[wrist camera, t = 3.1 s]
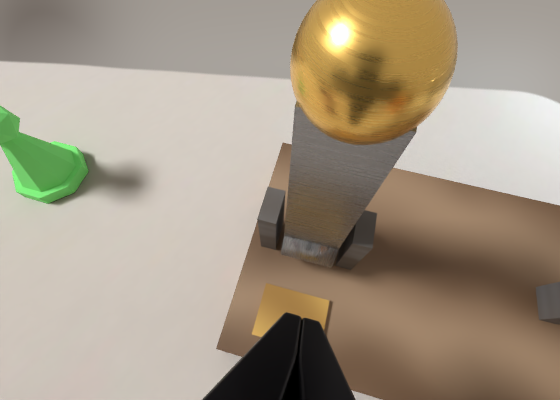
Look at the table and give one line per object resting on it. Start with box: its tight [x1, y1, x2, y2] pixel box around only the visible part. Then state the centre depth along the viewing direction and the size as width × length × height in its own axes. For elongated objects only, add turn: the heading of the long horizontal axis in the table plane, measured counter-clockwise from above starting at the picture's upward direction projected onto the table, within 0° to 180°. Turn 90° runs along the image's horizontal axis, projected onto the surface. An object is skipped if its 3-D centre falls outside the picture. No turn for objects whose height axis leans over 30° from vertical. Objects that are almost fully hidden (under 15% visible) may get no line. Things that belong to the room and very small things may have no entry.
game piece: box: [0, 106, 89, 203], centre depth 17 cm, size 4×4×6 cm
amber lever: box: [281, 0, 458, 268], centre depth 10 cm, size 3×3×12 cm
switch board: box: [216, 143, 560, 400], centre depth 14 cm, size 12×20×6 cm, turn 75°
